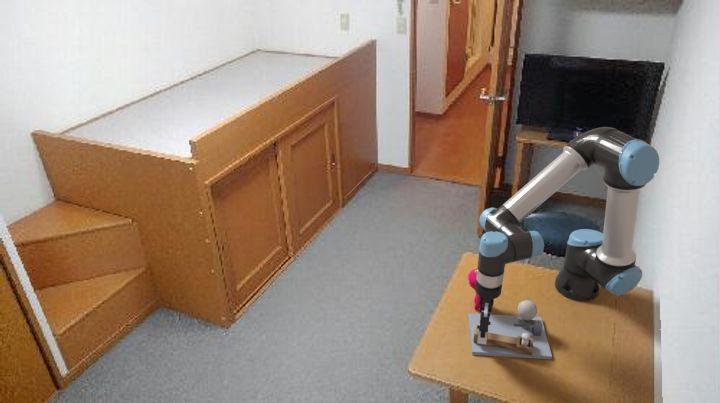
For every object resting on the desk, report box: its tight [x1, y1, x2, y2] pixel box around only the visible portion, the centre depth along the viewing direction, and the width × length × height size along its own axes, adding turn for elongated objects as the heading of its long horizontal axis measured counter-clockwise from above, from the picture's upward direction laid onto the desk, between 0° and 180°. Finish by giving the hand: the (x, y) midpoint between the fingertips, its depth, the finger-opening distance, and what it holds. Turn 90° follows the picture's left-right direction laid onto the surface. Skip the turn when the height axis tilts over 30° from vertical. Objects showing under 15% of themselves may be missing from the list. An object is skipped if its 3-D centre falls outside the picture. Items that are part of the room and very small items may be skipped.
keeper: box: [513, 319, 544, 336], centre depth 175 cm, size 9×2×6 cm, turn 84°
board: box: [467, 313, 553, 360], centre depth 175 cm, size 24×18×7 cm
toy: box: [467, 267, 480, 312], centre depth 186 cm, size 8×8×15 cm
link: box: [474, 327, 533, 355], centre depth 170 cm, size 18×5×4 cm, turn 73°
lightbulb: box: [517, 299, 538, 329], centre depth 176 cm, size 6×6×11 cm
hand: (481, 342), depth 170 cm, fingers closed
